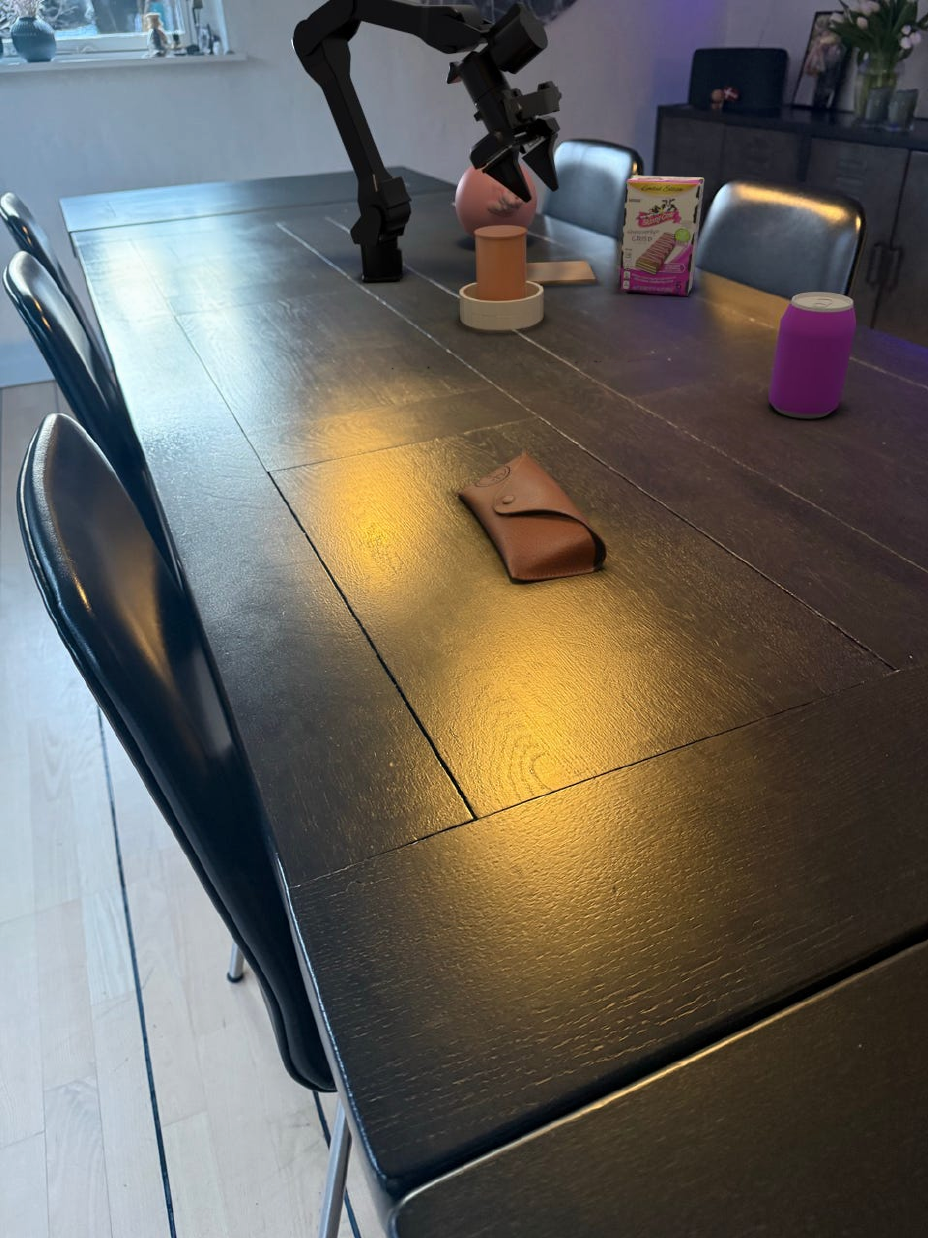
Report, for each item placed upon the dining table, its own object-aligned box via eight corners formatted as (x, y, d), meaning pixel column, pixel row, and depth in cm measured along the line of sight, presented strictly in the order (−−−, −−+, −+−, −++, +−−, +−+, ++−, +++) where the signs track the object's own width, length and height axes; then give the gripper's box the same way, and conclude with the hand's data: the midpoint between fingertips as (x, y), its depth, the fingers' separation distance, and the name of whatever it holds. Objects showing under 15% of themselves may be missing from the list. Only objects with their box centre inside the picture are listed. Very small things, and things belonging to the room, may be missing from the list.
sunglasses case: (450, 489, 87) (482, 428, 85) (508, 511, 90) (541, 453, 88) (513, 583, 73) (553, 513, 70) (580, 605, 76) (621, 539, 74)
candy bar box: (617, 293, 143) (624, 180, 133) (623, 285, 146) (630, 174, 137) (689, 297, 139) (701, 181, 130) (693, 288, 143) (705, 175, 134)
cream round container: (460, 335, 128) (459, 303, 125) (460, 310, 138) (459, 280, 135) (545, 332, 128) (546, 300, 125) (540, 307, 138) (540, 277, 135)
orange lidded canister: (477, 325, 130) (474, 237, 123) (476, 310, 136) (474, 226, 129) (528, 323, 129) (528, 235, 123) (525, 308, 136) (525, 224, 129)
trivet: (522, 287, 148) (522, 281, 147) (518, 269, 157) (519, 263, 157) (595, 284, 147) (595, 278, 147) (587, 266, 157) (587, 260, 157)
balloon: (468, 262, 162) (465, 169, 154) (451, 239, 179) (447, 153, 170) (550, 256, 164) (552, 163, 155) (526, 233, 180) (526, 148, 172)
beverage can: (828, 425, 97) (851, 314, 91) (758, 413, 101) (775, 305, 94) (845, 402, 103) (868, 294, 96) (778, 391, 106) (795, 286, 99)
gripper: (501, 63, 119) (558, 175, 123) (561, 54, 132) (610, 155, 136) (444, 114, 126) (498, 218, 130) (506, 100, 139) (554, 195, 143)
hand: (543, 195), depth 135 cm, fingers open, 9 cm apart
